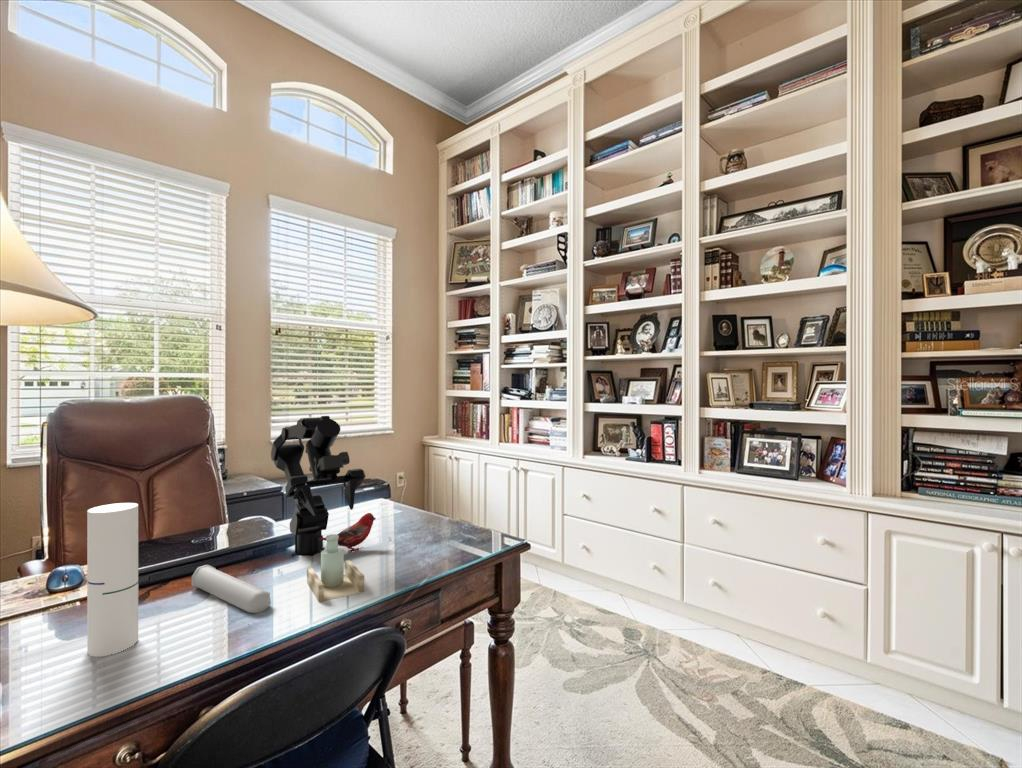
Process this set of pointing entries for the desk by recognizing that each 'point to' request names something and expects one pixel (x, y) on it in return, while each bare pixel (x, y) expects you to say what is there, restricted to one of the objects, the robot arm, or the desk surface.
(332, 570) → the bottle
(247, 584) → the tube
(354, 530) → the decorative bird figurine
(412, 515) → the desk surface
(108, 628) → the cylindrical container
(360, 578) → the cradle
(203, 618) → the desk surface
